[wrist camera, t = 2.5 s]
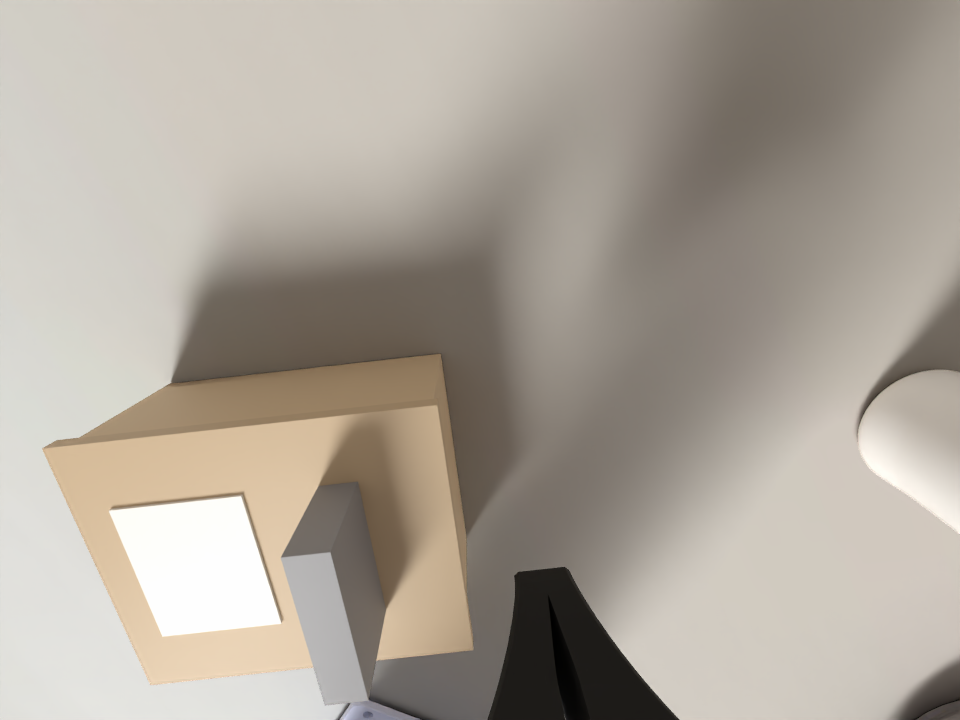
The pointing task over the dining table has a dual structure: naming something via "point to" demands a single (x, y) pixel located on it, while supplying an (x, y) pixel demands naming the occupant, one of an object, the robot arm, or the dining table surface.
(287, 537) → the sliding lid
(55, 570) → the dining table surface
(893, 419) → the drinking glass
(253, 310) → the dining table surface
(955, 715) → the coffee pot
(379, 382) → the wooden box
